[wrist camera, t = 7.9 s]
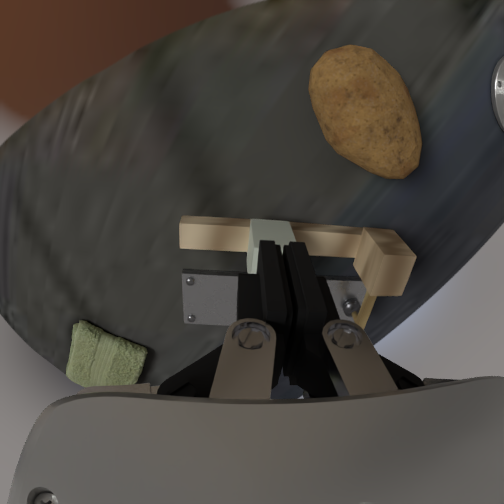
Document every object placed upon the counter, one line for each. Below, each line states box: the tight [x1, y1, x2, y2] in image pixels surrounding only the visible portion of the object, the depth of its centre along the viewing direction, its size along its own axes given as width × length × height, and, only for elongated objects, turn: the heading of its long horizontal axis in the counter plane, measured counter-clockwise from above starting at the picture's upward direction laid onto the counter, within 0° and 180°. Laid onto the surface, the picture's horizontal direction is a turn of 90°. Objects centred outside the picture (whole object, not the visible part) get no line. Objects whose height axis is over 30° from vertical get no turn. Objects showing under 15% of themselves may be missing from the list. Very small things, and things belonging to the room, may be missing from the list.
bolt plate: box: [182, 269, 367, 326], centre depth 40 cm, size 25×8×2 cm, turn 85°
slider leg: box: [247, 219, 296, 274], centre depth 34 cm, size 4×12×6 cm, turn 175°
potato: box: [309, 45, 422, 179], centre depth 26 cm, size 10×14×8 cm
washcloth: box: [66, 320, 147, 388], centre depth 46 cm, size 13×18×3 cm
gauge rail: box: [179, 216, 417, 330], centre depth 35 cm, size 25×12×8 cm, turn 85°
